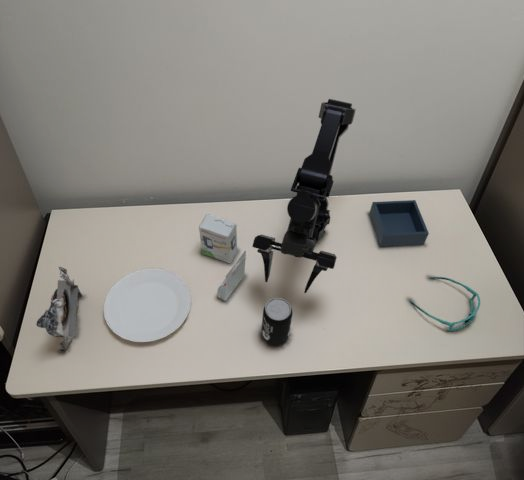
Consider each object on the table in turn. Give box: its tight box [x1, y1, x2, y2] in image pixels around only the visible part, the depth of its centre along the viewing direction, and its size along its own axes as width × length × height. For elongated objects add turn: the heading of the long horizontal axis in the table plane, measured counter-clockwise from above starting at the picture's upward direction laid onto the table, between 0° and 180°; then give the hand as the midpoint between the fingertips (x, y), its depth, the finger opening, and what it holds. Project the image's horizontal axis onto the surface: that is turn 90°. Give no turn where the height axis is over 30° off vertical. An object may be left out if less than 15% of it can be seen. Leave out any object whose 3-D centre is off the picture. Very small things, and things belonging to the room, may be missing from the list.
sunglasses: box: [409, 276, 481, 332], centre depth 123 cm, size 14×15×5 cm
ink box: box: [198, 213, 238, 264], centre depth 127 cm, size 9×5×12 cm, turn 68°
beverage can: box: [261, 297, 293, 347], centre depth 112 cm, size 7×7×12 cm
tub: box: [368, 199, 430, 248], centre depth 138 cm, size 13×13×5 cm
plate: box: [103, 267, 192, 343], centre depth 119 cm, size 21×21×2 cm
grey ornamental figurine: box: [35, 266, 83, 353], centre depth 112 cm, size 15×4×13 cm, turn 4°
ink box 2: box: [217, 250, 247, 302], centre depth 121 cm, size 3×9×12 cm, turn 150°
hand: (285, 287), depth 111 cm, fingers open, 9 cm apart
